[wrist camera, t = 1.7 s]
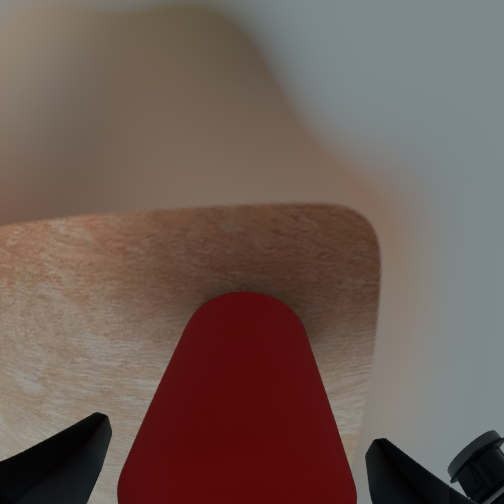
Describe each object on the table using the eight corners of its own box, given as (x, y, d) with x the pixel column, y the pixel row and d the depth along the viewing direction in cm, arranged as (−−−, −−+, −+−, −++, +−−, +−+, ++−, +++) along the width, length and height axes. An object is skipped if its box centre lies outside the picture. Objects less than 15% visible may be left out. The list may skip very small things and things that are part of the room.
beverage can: (320, 356, 15) (387, 554, 4) (223, 395, 16) (198, 583, 4) (272, 262, 14) (326, 498, 2) (166, 314, 15) (49, 508, 3)
